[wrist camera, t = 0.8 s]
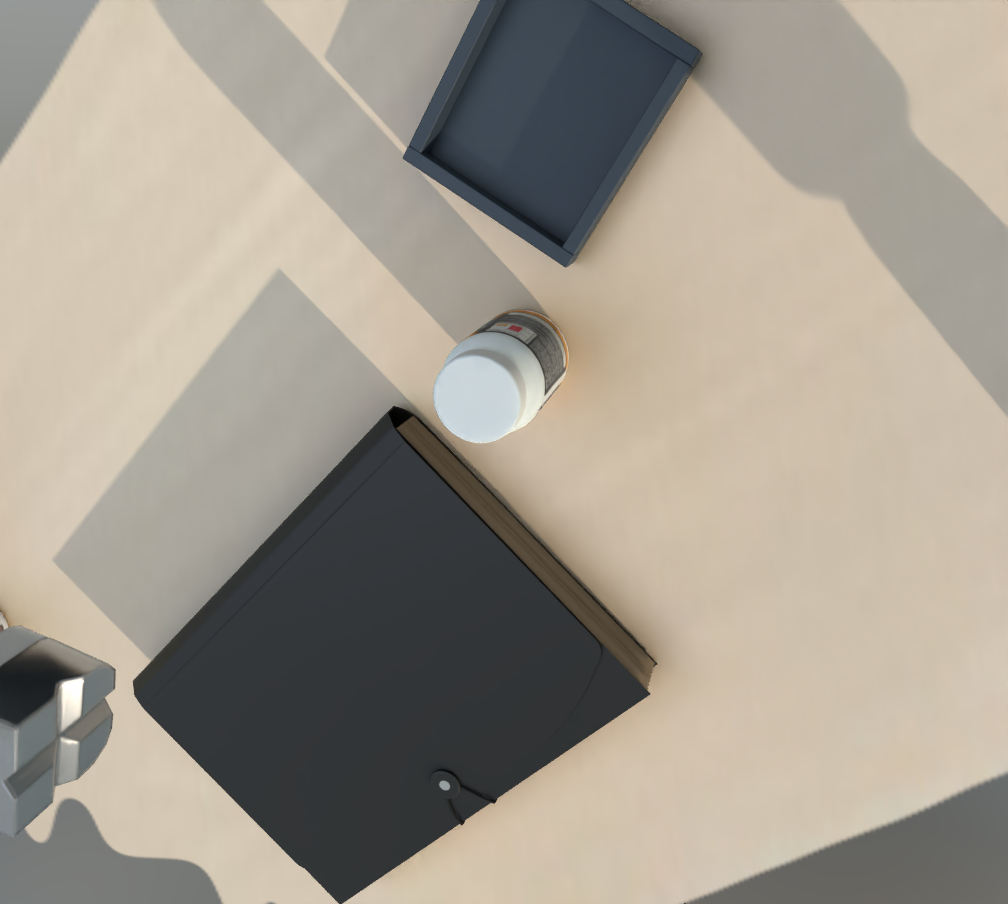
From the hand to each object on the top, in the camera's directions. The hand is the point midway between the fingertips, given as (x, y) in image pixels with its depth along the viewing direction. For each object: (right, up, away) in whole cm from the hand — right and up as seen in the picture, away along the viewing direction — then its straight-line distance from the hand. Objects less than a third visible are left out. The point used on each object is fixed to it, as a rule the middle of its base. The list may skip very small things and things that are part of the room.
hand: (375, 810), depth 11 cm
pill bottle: (+3, +11, +41) cm, 42 cm away
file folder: (-7, -11, +52) cm, 53 cm away
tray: (+4, +24, +36) cm, 43 cm away
